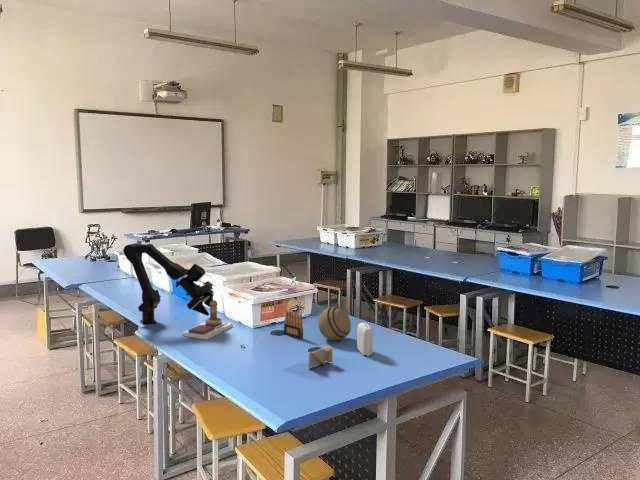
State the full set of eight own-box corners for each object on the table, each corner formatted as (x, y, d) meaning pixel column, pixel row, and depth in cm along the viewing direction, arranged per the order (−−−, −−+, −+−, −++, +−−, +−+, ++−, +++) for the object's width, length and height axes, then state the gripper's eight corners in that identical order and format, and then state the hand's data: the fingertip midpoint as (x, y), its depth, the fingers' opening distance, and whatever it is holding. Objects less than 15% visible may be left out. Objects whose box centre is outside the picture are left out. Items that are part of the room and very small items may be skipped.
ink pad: (203, 334, 244) (203, 332, 243) (188, 332, 246) (188, 329, 246) (214, 329, 252) (214, 326, 252) (199, 327, 255) (199, 324, 255)
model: (332, 364, 215) (332, 346, 214) (315, 372, 207) (315, 353, 206) (325, 363, 217) (326, 344, 216) (308, 370, 209) (308, 351, 208)
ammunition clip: (283, 334, 252) (283, 308, 250) (286, 333, 253) (286, 308, 251) (300, 339, 244) (300, 313, 243) (303, 338, 246) (303, 312, 244)
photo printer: (355, 348, 233) (356, 320, 231) (365, 348, 234) (366, 320, 233) (363, 357, 223) (364, 327, 222) (373, 356, 224) (374, 327, 223)
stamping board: (207, 339, 242) (207, 335, 242) (182, 335, 246) (182, 332, 246) (232, 326, 262) (232, 322, 262) (209, 322, 267) (209, 319, 267)
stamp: (215, 326, 256) (215, 302, 254) (205, 325, 258) (205, 300, 256) (221, 323, 261) (221, 299, 259) (211, 322, 263) (211, 298, 261)
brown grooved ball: (323, 346, 236) (323, 312, 234) (314, 335, 250) (314, 303, 248) (356, 343, 240) (356, 310, 238) (345, 333, 254) (346, 302, 252)
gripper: (193, 281, 248) (216, 306, 247) (210, 273, 266) (231, 297, 265) (177, 296, 251) (199, 322, 250) (195, 287, 269) (216, 311, 268)
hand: (212, 312), depth 258 cm, fingers open, 9 cm apart
